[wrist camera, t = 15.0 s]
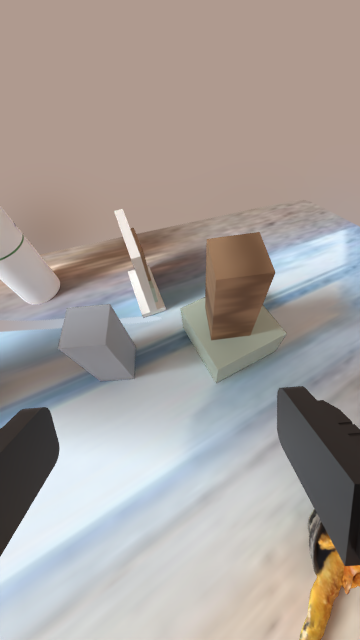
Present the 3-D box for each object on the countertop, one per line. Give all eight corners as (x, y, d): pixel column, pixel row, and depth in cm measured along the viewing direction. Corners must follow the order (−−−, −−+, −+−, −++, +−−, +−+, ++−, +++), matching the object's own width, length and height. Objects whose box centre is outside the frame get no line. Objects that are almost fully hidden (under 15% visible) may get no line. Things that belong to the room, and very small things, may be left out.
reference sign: (143, 318, 40) (119, 262, 29) (129, 275, 45) (104, 214, 34) (166, 310, 40) (151, 252, 29) (149, 268, 45) (131, 205, 34)
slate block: (100, 381, 35) (57, 348, 25) (104, 349, 38) (66, 308, 27) (134, 378, 35) (105, 344, 25) (135, 347, 38) (110, 304, 27)
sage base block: (215, 383, 34) (217, 369, 29) (183, 328, 39) (180, 308, 34) (274, 351, 36) (286, 333, 30) (236, 302, 40) (241, 279, 35)
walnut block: (211, 340, 31) (216, 280, 20) (205, 307, 33) (206, 239, 23) (250, 335, 31) (275, 272, 20) (241, 303, 33) (259, 232, 23)
